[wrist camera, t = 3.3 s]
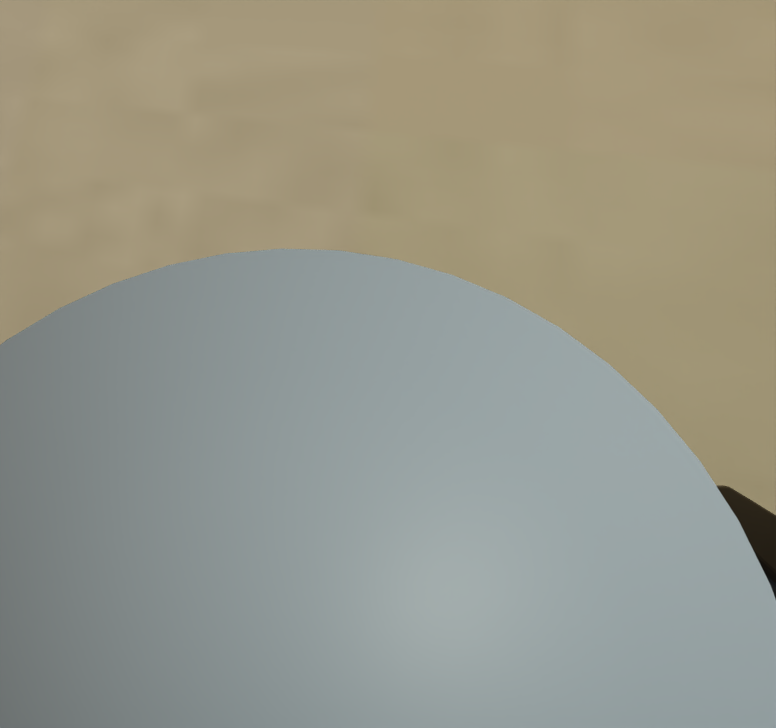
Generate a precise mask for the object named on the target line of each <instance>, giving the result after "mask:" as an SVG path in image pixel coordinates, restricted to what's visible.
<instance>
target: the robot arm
mask: <svg viewBox="0 0 776 728" xmlns="http://www.w3.org/2000/svg"><path fill="white" fill-rule="evenodd" d="M717 488H718V490H719V491H720V493H721V494H722V496H723V497H724V499H725V500H726V502H727V503H728V505H729V506H730V508H731V510H732V511H733V513H734V514H735V516H736V517H737V519H738V520H739V522H740V524H741V526H742V528H743V531H744V533H745V535H746V537H747V539H748V541H749V543H750V545H751V547H752V549H753V551H754V553H755V555H756V557H757V559H758V561H759V563H760V565H761V567H762V569H763V571H764V573H765V575H766V577H767V579H768V581H769V583H770V585H771V588H772V591H773V593H774V596H775V599H776V515H774V514H773V513H771V512H770V511H768V510H766V509H765V508H763V507H761V506H760V505H758V504H756V503H755V502H753V501H752V500H750V499H748V498H747V497H745V496H743V495H742V494H740V493H739V492H737V491H735V490H734V489H732V488H730V487H728V486H717Z"/></svg>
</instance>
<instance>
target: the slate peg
mask: <svg viewBox="0 0 776 728" xmlns="http://www.w3.org/2000/svg"><path fill="white" fill-rule="evenodd" d="M0 728H776V599H775V596H774V593H773V591H772V588H771V585H770V583H769V581H768V579H767V577H766V575H765V573H764V571H763V569H762V567H761V565H760V563H759V561H758V559H757V557H756V555H755V553H754V551H753V549H752V547H751V545H750V543H749V541H748V539H747V537H746V535H745V533H744V531H743V528H742V526H741V524H740V522H739V520H738V519H737V517H736V516H735V514H734V513H733V511H732V510H731V508H730V506H729V505H728V503H727V502H726V500H725V499H724V497H723V496H722V494H721V493H720V491H719V490H718V488H717V486H716V485H715V483H714V482H713V480H712V479H711V477H710V476H709V474H708V473H707V471H706V470H705V468H704V466H703V465H702V463H701V462H700V460H699V459H698V458H697V457H696V456H695V454H694V453H693V452H692V451H691V450H690V448H689V447H688V446H687V445H686V444H685V442H684V441H683V440H682V439H681V438H680V436H679V435H678V434H677V433H676V432H675V430H674V429H673V428H672V427H671V426H670V424H669V423H668V422H667V421H666V420H665V418H664V417H663V416H662V415H661V414H660V412H659V411H658V410H657V409H656V408H655V407H654V406H653V405H652V404H651V403H650V402H649V401H648V400H647V399H645V398H644V397H643V396H642V395H641V394H640V393H639V392H638V391H637V390H636V389H635V388H634V387H633V386H632V385H631V384H630V383H629V382H627V381H626V380H625V379H624V378H623V377H622V376H621V375H620V374H619V373H618V372H617V371H616V370H615V369H614V368H613V367H612V366H611V365H609V364H608V363H607V362H605V361H604V360H603V359H601V358H600V357H599V356H597V355H596V354H594V353H593V352H592V351H590V350H589V349H588V348H586V347H585V346H584V345H582V344H581V343H580V342H578V341H577V340H576V339H574V338H573V337H572V336H570V335H569V334H567V333H566V332H565V331H563V330H562V329H561V328H559V327H558V326H556V325H554V324H552V323H550V322H549V321H547V320H545V319H543V318H542V317H540V316H538V315H536V314H535V313H533V312H531V311H529V310H528V309H526V308H524V307H522V306H521V305H519V304H517V303H515V302H513V301H512V300H510V299H508V298H506V297H504V296H501V295H499V294H497V293H494V292H492V291H489V290H487V289H485V288H482V287H480V286H477V285H475V284H473V283H470V282H468V281H465V280H463V279H461V278H458V277H456V276H453V275H451V274H447V273H443V272H440V271H436V270H433V269H429V268H426V267H422V266H418V265H415V264H411V263H408V262H404V261H401V260H397V259H391V258H385V257H378V256H372V255H365V254H359V253H352V252H346V251H337V250H306V249H273V250H262V251H250V252H239V253H227V254H221V255H216V256H212V257H207V258H202V259H197V260H192V261H187V262H183V263H178V264H173V265H168V266H165V267H162V268H159V269H156V270H153V271H150V272H147V273H144V274H141V275H138V276H135V277H132V278H129V279H126V280H123V281H120V282H117V283H114V284H111V285H109V286H107V287H105V288H103V289H101V290H98V291H96V292H94V293H92V294H90V295H87V296H85V297H83V298H81V299H79V300H77V301H74V302H72V303H70V304H68V305H66V306H64V307H61V308H59V309H58V310H56V311H54V312H53V313H51V314H49V315H48V316H46V317H44V318H43V319H41V320H39V321H38V322H36V323H34V324H33V325H31V326H29V327H28V328H26V329H24V330H23V331H21V332H19V333H18V334H16V335H14V336H13V337H11V338H9V339H8V340H6V341H5V342H4V343H2V344H1V345H0Z"/></svg>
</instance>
